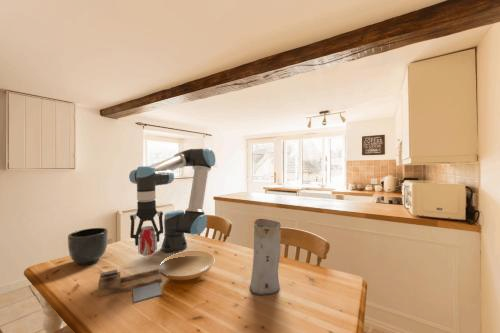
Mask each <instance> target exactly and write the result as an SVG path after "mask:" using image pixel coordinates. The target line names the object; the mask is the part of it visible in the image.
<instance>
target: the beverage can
mask: <svg viewBox="0 0 500 333" xmlns="http://www.w3.org/2000/svg"><path fill="white" fill-rule="evenodd" d="M155 234H156V232H155V229H154V227H153V225H148V226H142V228H141V231H140V234H139V237H140V253H139V254H140V255H141V256H143V257H144V256H147V257H149V256H151V255H153V254H154V253H155V252H156V250H155Z"/></svg>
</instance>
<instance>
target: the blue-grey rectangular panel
mask: <svg viewBox="0 0 500 333" xmlns="http://www.w3.org/2000/svg"><path fill="white" fill-rule="evenodd" d="M119 272H120V271H118V269H113V270H109V271H104V272H100V273H99V278H105V277H110V276H114V275H118V274H119Z"/></svg>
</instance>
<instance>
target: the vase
mask: <svg viewBox="0 0 500 333" xmlns="http://www.w3.org/2000/svg"><path fill="white" fill-rule="evenodd" d="M281 228H282V227H281V222H280V221H276V220H272V219H267V218H258V219H256V220H254V222H253V258H252V260H253V261H252V270H251V271H252V272H251V278H250V285H249V290H250V291H251V292H252V295H257V296H265V295H273V294H276V293H278V292H280V288H281V287H280V280H279V266H280V265H279V264H280V259H281V258H280V256H281V236H282V234H281Z"/></svg>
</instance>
